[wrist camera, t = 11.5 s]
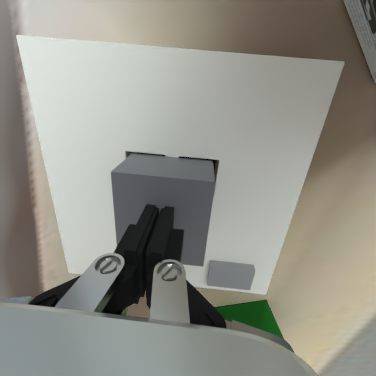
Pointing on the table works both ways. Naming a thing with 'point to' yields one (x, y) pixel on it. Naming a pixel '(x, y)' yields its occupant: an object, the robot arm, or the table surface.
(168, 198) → the plug
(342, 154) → the table surface
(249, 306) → the milk carton
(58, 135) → the socket
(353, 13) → the light bulb box
